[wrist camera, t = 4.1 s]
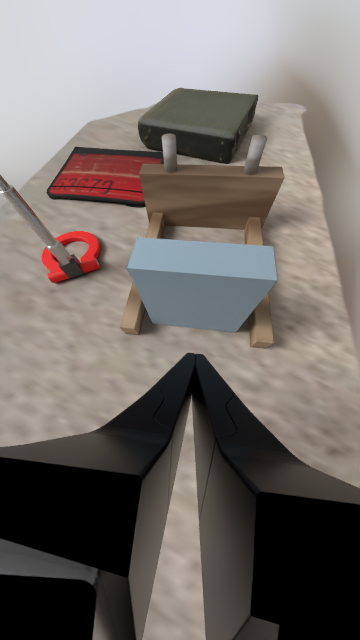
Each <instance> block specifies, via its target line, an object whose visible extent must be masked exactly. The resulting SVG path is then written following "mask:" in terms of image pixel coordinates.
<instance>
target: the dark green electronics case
mask: <svg viewBox="0 0 360 640" xmlns="http://www.w3.org/2000/svg"><path fill="white" fill-rule="evenodd" d="M257 101H258V95H250V94H239V93H228V92H218V91H205V90H194V89H184V88H178V89H175V90H173V91H172V92H171V93H169V94H168V95H167V96H166V97H164V98H163V99H162V100H161V101H160V102H158V103H157V104H156V105H155V106H154V107H152V108H151V109H150V110H149V111H148V112H146V113H145V114H144V115H143V116H141V117H140V119H139V121H138V130H139V136H140V138H141V141H142V142H143V144H144V145H145V146H146V147H147V148H150V149H153V150H158V151H163V146H162V136H163V135H164V134H174V135H175V136H176V154H181V155H186V156H191V157H195V158H200V159H205V160H208V161H214V162H219V163H225V164H228V163H229V162H230V161H231V159H232V157H233V155H234V154H235V152H236V150H237V148H238V146H239V145H240V143H241V141H242V139H243V137H244V134H245V133H246V131H247V130H248V128H249V126H250V123H251V122H252V120H253V117H254V114H255V108H256V104H257ZM235 143H236V145H235Z"/></svg>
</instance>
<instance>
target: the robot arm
mask: <svg viewBox="0 0 360 640" xmlns="http://www.w3.org/2000/svg"><path fill="white" fill-rule="evenodd" d="M191 396H192V410H193V427H194V444H195V461H196V478H197V495H198V512H199V530H200V547H201V564H202V582H203V599H204V616H205V633H206V640H360V488H358V487H355V486H353V485H351V484H348V483H346V482H344V481H342V480H339V479H337V478H335V477H332V476H330V475H328V474H325V473H323V472H321V471H319V470H316V469H314V468H312V467H310V466H309V465H307V464H305V463H304V462H302V461H301V460H299V459H298V458H297V457H296V456H294V455H293V454H292V453H291V452H290V451H289V450H288V449H287V448H286V447H285V446H284V445H283V444H282V443H281V442H280V441H279V440H278V439H277V438H276V437H275V436H274V435H273V434H272V433H271V432H270V431H269V430H268V429H267V428H266V427H265V426H264V425H263V424H262V423H261V422H260V421H259V420H258V419H257V418H256V417H255V416H254V415H253V414H252V413H251V412H250V410H249V409H248V408H247V407H246V406H245V405H244V404H243V402H242V401H241V400H240V399H239V398H238V396H237V395H235V393H234V392H233V390H232V389H231V388H230V387H229V386H228V384H227V383H226V382H225V381H224V379H223V378H222V377H221V376H220V375H219V373H218V372H217V371H216V370H215V368H214V367H213V366H212V365H211V364H210V362H209V361H208V360H207V359H206V357H205V356H204V355H203V354H194V353H187V354H186V355H185V356H184V357H183V358H182V359H181V360H180V361H179V362H178V363H177V364H176V365H175V366H174V367H172V368H171V369H170V370H169V371H168V372H167V373H166V374H165V375H164V376H163V377H162V378H161V379H160V380H159V381H158V382H157V383H156V384H155V385H154V386H153V387H152V388H151V389H150V390H149V391H148V392H146V393H145V394H144V395H143V396H142V397H141V398H139V399H138V400H137V401H136V402H134V403H133V404H132V405H131V406H129V407H128V408H127V409H125V410H124V411H123V412H121V413H120V414H119V415H117V416H116V417H115V418H113V419H112V420H111V421H110V422H108V423H107V424H105V425H104V426H102V427H100V428H99V429H97V430H95V431H92V432H89V433H84V434H79V435H74V436H68V437H63V438H57V439H52V440H47V441H41V442H36V443H30V444H25V445H18V446H9V447H0V640H142V637H143V632H144V627H145V623H146V618H147V613H148V608H149V603H150V598H151V593H152V588H153V583H154V578H155V574H156V569H157V564H158V559H159V554H160V549H161V544H162V539H163V534H164V529H165V524H166V520H167V514H168V510H169V505H170V500H171V495H172V490H173V485H174V480H175V475H176V470H177V466H178V461H179V456H180V451H181V446H182V441H183V436H184V431H185V426H186V421H187V417H188V412H189V407H190V402H191Z"/></svg>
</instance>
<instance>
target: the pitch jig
mask: <svg viewBox="0 0 360 640" xmlns="http://www.w3.org/2000/svg"><path fill="white" fill-rule="evenodd" d="M266 141H267V137H266V136H265V135H261V134H257V135H254V136H252V139H251V143H250V147H249V151H248V155H247V159H246V163H245V166H218V165H177V155H176V136H175V135H174V134H164V135H163V136H162V146H163V157H164V164H142V167H141V169H140V172H139V177H140V181H141V186H142V191H143V195H144V200H145V205H146V209H147V214H148V219H149V228H148V231H147V235H146V238H155V239H161V238H162V233H163V229H164V225H173V226H192V227H211V228H230V229H245V245H260V246H263V241H262V232H261V228H262V226H263V224H264V222H265V220H266V217H267V215H268V213H269V211H270V209H271V206H272V204H273V202H274V200H275V198H276V195H277V193H278V191H279V189H280V187H281V184H282V182H283V180H284V174H283V169H282V167H260V166H259V163H260V159H261V156H262V153H263V150H264V147H265V144H266ZM144 311H145V306H144V304H143V301H142V299H141V297H140V295H139V293H138V291H137V289H136V286H135V284H134V282H133V284H132V287H131V291H130V294H129V298H128V301H127V305H126V308H125V312H124V315H123V319H122V322H121V326H120V328H121V329H122V330H123V331H124V332H125V333H126V334H135V335H139V332H140V328H141V324H142V319H143V315H144ZM249 326H250V346H251V347H257V348H267V347H268V346H270V345H272V344H273V343H274V342H273V333H272V324H271V315H270V305H269V296H268V293H267V294H266V295H265V296H264V298H263V299H262V300H261V301H260V303H259V304H258V305H257V306H256V308H255V309H254V310H253V311H252V313H251V314H250V315H249Z"/></svg>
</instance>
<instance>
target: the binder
mask: <svg viewBox="0 0 360 640" xmlns="http://www.w3.org/2000/svg"><path fill="white" fill-rule="evenodd" d="M142 164H164V157H163V152H148V151H130V150H113V149H99V148H84V147H75V148H74V150H73V151H72V153H71V154H70V156H69V158H68V159H67V161H66V162H65V164H64V165H63V167H62V168H61V170H60V171H59V173H58V174H57V176H56V177H55V179H54V180H53V182H52V183H51V185H50V186H49V188H48V189H47V194H48V196H49V197H50V198H51V199H55V200H56V199H65V200H67V199H70V200H88V201H100V202H112V203H121V204H125V205H126V206H131V207H146V205H145V200H144V195H143V191H142V186H141V181H140V177H139V172H140V169H141V167H142Z"/></svg>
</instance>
